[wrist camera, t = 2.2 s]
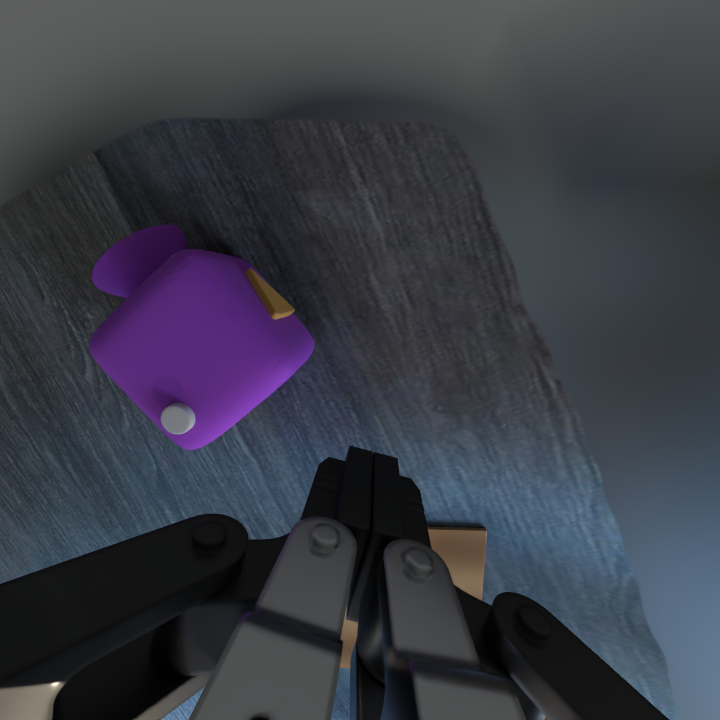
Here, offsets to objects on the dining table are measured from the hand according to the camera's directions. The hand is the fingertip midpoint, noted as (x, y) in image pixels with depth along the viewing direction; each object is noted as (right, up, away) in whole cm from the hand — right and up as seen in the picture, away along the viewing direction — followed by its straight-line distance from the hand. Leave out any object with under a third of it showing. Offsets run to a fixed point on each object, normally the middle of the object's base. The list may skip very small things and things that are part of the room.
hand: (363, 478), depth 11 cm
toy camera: (-11, +7, +18) cm, 22 cm away
